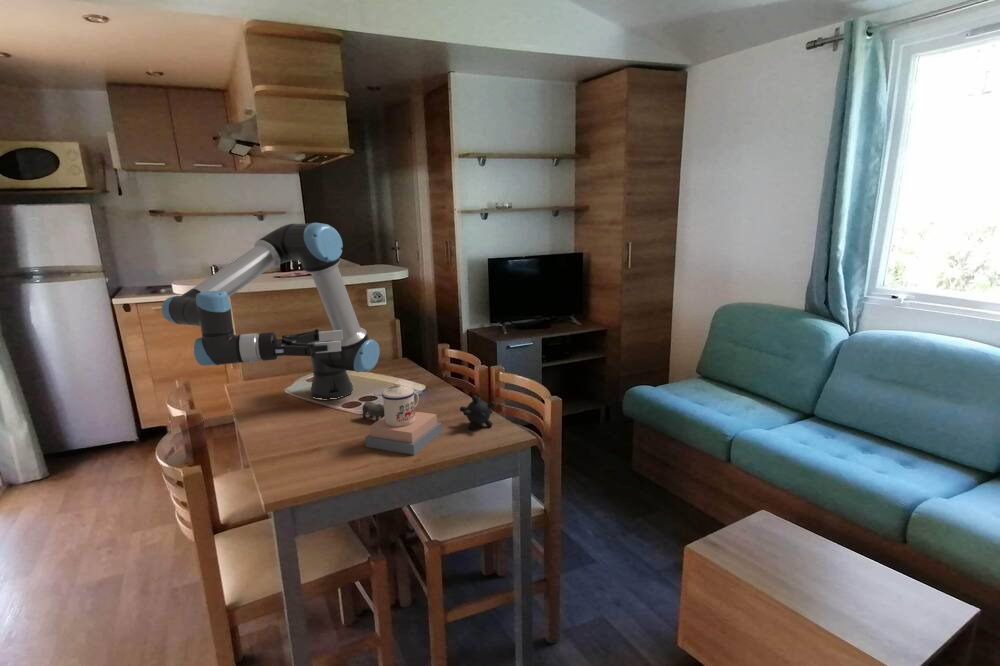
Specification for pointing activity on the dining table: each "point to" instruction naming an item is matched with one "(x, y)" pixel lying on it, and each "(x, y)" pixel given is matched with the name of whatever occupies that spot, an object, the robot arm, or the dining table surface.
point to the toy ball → (478, 412)
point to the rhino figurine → (373, 410)
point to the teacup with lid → (399, 405)
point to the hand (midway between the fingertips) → (341, 340)
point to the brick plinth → (404, 444)
